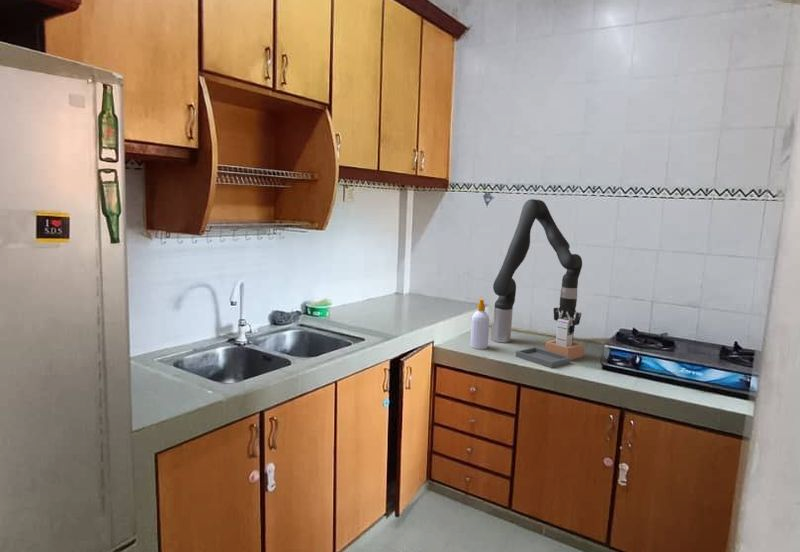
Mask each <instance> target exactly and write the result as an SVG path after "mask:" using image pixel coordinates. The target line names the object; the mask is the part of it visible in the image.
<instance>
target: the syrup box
mask: <svg viewBox="0 0 800 552" xmlns="http://www.w3.org/2000/svg"><path fill="white" fill-rule="evenodd" d="M556 322H557V321H556ZM569 330H570V321H569V320H568V318H566V317H565V318H563V319H558V322H557V323H556V337H555V340H556V344H558V345H562V346H565V347H571V346H573V342H574V334H575V331H574V332H573V333H569Z"/></svg>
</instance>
